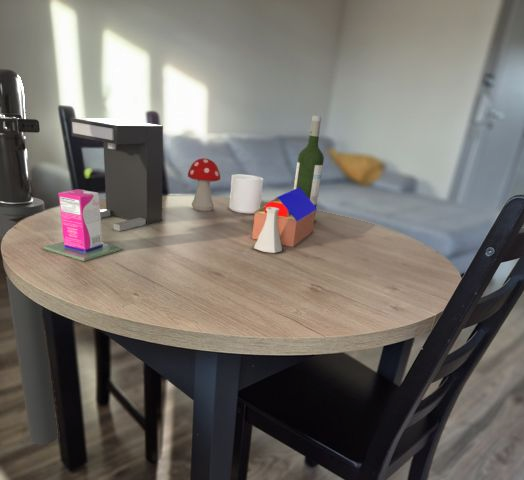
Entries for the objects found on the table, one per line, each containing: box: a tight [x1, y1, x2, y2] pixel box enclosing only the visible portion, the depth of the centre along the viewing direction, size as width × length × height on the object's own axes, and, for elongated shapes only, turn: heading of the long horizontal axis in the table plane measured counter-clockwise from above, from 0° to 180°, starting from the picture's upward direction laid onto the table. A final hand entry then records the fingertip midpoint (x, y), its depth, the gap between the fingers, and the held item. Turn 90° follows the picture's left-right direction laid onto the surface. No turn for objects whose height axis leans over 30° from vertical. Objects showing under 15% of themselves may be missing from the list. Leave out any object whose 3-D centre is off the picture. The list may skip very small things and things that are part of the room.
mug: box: [228, 173, 264, 215], centre depth 156 cm, size 13×10×10 cm
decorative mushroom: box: [187, 157, 221, 212], centre depth 148 cm, size 10×9×15 cm
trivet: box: [43, 241, 122, 262], centre depth 104 cm, size 11×11×1 cm
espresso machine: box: [69, 117, 164, 232], centre depth 123 cm, size 14×18×24 cm
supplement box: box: [58, 188, 103, 252], centre depth 101 cm, size 6×6×12 cm
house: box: [251, 187, 318, 248], centre depth 131 cm, size 12×20×12 cm, turn 160°
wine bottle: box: [293, 114, 325, 220], centre depth 147 cm, size 8×8×30 cm
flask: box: [253, 207, 283, 254], centre depth 117 cm, size 7×7×10 cm
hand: (29, 123), depth 92 cm, fingers open, 8 cm apart
